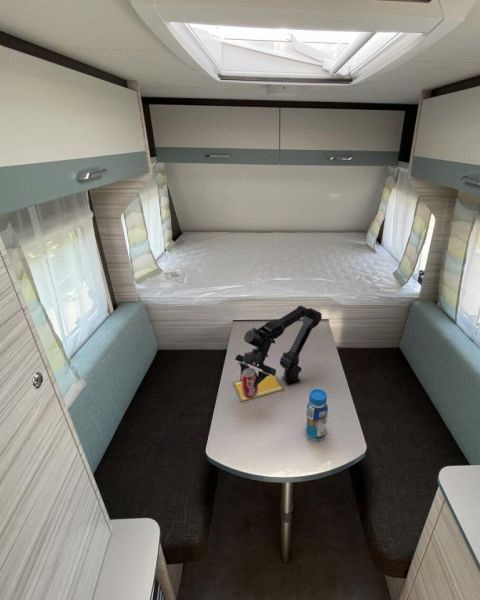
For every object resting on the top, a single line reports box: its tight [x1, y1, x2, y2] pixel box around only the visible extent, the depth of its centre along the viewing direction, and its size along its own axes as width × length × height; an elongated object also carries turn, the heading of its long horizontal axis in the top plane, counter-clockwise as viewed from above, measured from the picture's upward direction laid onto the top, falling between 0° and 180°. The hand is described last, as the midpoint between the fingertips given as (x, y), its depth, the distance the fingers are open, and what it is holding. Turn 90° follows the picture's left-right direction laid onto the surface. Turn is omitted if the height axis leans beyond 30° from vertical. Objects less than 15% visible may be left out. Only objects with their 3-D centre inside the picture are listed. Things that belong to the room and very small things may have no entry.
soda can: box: [240, 367, 258, 399], centre depth 140 cm, size 7×7×12 cm
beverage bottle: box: [305, 388, 329, 441], centre depth 128 cm, size 8×8×20 cm
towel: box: [233, 374, 283, 402], centre depth 159 cm, size 20×14×1 cm
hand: (247, 384), depth 138 cm, fingers closed on soda can, 7 cm apart
